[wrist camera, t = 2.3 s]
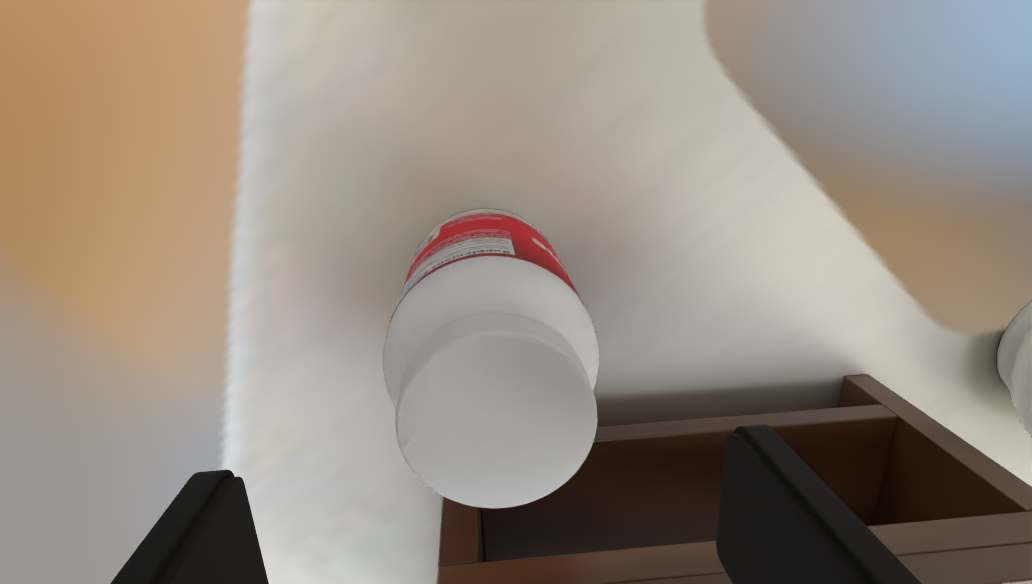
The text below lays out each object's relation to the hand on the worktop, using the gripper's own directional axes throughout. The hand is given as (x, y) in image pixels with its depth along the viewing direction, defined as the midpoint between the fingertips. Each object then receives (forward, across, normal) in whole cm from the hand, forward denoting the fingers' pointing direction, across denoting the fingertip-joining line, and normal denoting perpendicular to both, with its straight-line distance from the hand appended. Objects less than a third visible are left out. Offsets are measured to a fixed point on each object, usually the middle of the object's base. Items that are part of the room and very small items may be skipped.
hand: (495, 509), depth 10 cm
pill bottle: (+13, 0, -1) cm, 13 cm away
